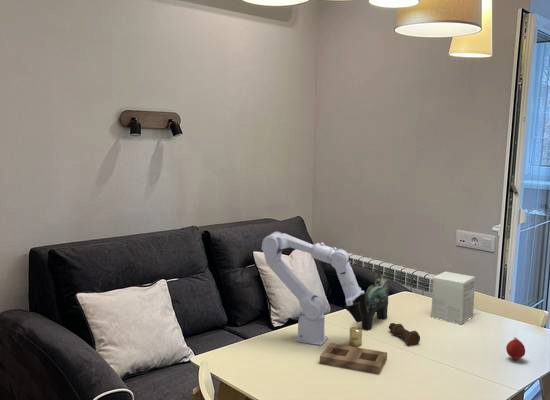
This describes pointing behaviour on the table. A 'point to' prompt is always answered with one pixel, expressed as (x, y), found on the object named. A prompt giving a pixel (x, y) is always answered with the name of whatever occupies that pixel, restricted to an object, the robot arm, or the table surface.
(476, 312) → the table surface
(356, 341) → the brass peg
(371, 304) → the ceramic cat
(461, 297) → the supplement box
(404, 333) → the bolt
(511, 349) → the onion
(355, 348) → the frame
